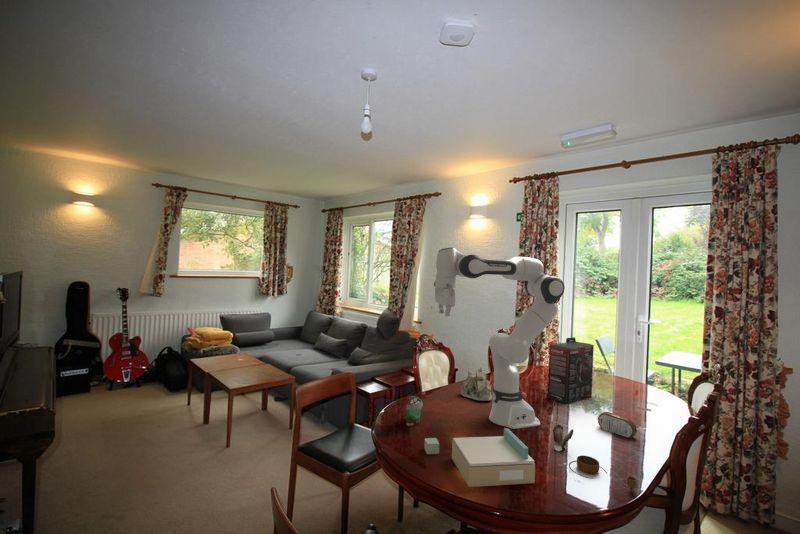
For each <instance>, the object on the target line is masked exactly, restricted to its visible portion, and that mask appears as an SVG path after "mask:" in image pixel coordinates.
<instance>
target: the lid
mask: <svg viewBox="0 0 800 534" xmlns="http://www.w3.org/2000/svg"><path fill="white" fill-rule="evenodd" d="M452 439H453V440H452V441H454V442H455V444H456V445H457V447H458V448H459V450H460V452H461V453H462V455H463V456H464V458H465V459H466V461H467V463H468V464H469V466H488V465H509V464H530V463H534V464H535V460H534V459H533V457H531V456H530V455H529V447H528V446H527V445H526V444H525V443H524V442H523V441H522V440H521V439H519V437H518V436H517V435H516V434H514V433H513V431H511V429H510V428H509V427H504V428H503V436H501V435H500V436H499V435H498V436H496V435H495V436H472V437H471V436H470V437H469V436H468V437H467V436H466V437H453V438H452Z"/></svg>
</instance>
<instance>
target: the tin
mask: <svg viewBox="0 0 800 534" xmlns="http://www.w3.org/2000/svg"><path fill="white" fill-rule="evenodd" d="M597 424H598V426H599V427H600V429H601V430H605V431H607V432H611V433H613V434H616V435H620V436H621V437H626V438H628V439H632V438H634V437H636V435H637V432H638V431H637V430H638V429H637V427H636V425H635V423H634V422H633V421H632V420H631V419H629V418H628V417H625V416H622V415H618V414H615V413H613V412H611V411H603V412H601V413H600V414H599V415H598V417H597Z"/></svg>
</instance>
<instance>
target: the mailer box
mask: <svg viewBox="0 0 800 534" xmlns="http://www.w3.org/2000/svg"><path fill="white" fill-rule="evenodd" d="M451 442H452V444H451V446H452V447H451V448H452V449H451V459H452V461H453V463H454V464H455V466H456V468H457V470H458V471H459V473H460V475H461V477H462V479H464V481H465V484H466V485H467V487H469V488H476V487H489V486H490V487H491V486H493V487H494V486H509V485H525V484H527V485H528V484H535V479H536V478H535V477H536V463H535V462H534V463H530V464H509V465H488V466H469V464H468V463H467V461H466V459H465V458H464V456H463V455H462V453H461V452H460V450H459V448H458V447H457V445H456V444H455V442H454V441H453V440H452V441H451Z"/></svg>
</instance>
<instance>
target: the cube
mask: <svg viewBox="0 0 800 534" xmlns="http://www.w3.org/2000/svg"><path fill="white" fill-rule="evenodd" d="M423 448H424V449H423V450H424V452H425V453H426V455H440V442H439V440H438V438H437V437H429V438H428V437H426V438H424V447H423Z"/></svg>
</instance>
